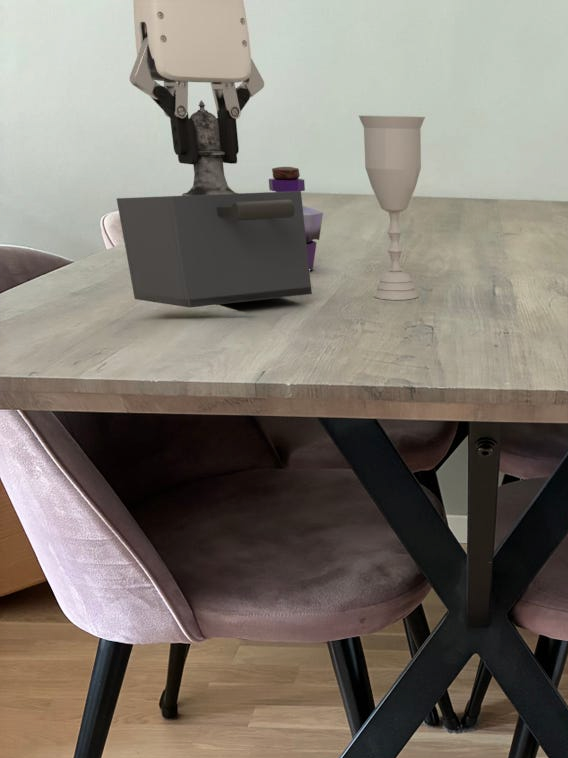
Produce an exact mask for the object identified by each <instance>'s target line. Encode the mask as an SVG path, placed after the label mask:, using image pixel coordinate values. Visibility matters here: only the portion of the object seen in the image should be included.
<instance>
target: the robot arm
mask: <svg viewBox="0 0 568 758" xmlns="http://www.w3.org/2000/svg"><path fill="white" fill-rule="evenodd" d="M247 20H248V19H247V14H246V9H245V3H244V0H133V21H134V23H133V24H134V37H135V49H136V59H135V61H134V64H133V66H132V69H131V72H130V75H129V82H130V84H131V85H132V86H134V87H136V89H138V90H139V91H141V92H143V93H144V94H145V95H148V96H149V97H150V98H151V99H152V100H153V101H154V102H155V103H156V104H157V106H159V108H161V110H162V111H163V113H164V115H165V116H166V117H167V118H169V121H170V128H171V137H172V145H173V151H174V153H175V155H176V156H177V159H178V162H179V163H180V164H185V165H193V164H197V163H198V153H197V144H196V135H195V126H194V121H193V120H192V119H190V117H189V110H188V109H189V108H188V107H189V106H188V105H189V102H188V101H189V100H188V99H189V83H210V86H211V91H212V96H213V100H214V104H215V109H216V114H217V117H216V118H217V120H218V127H219V136H220V146H221V151H223V152H224V153H225V155H223V157H222V158H223V164H230V165H231V164H233V165H235V164H237V163H238V154H239V150H240V148H239V137H238V127H237V119H240V117H241V112H242V111H243V109H244V108H245V106H246V105H247V103H248V102H249V100H250V99H251V98H252V97H254V96H256V94H257V93H259V92H260V91H262V89H263V88H264V87H265V81H264V79H263V77H262V75H261V73H260V71H259V70H258V67H257V66H256V64H255V62H254V60H253V59H252V53H251V51H252V50H251V42H250V34H249V27H248V21H247ZM159 81H160V82H163V85H161V84H160V83H158V82H159ZM235 83H240V84H239V86H237V87H236V84H235Z"/></svg>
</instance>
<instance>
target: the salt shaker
mask: <svg viewBox="0 0 568 758" xmlns="http://www.w3.org/2000/svg"><path fill="white" fill-rule="evenodd" d="M205 106H206V104H205V103H204V101H203V100H200V102H199V104H198V107H199V109H198V110H196V112H194V113H192V114H191V115H190V117H189V118H190V119H192V120H193V121H194V126H195V135H196V144H197V153H198V163H197V164H192V165H193V172H194V173H193V174H194V175H193V185H192V186H191V188H190V189H189V190H188V191H187V192H183V193H182V194H181V196H190V195H215V194H239V193H240V192H235V191H234V190H233V189H232V188H231V187H229V185H228V182H227V179H226V175H225V170H224V163H223V158H222V157H223V155H225V153H224V152H223V151H221V146H220V136H219V127H218V120H217V118H218V117H216V115H215V114H213V113H211V112H209V111H208V109H207V110H206V109H205Z"/></svg>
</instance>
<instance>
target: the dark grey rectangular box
mask: <svg viewBox="0 0 568 758" xmlns="http://www.w3.org/2000/svg"><path fill="white" fill-rule="evenodd" d="M238 193H239V194H215V195H190V196H182V195H167V196H165V195H164V196H144V197H143V196H141V197H139V196H138V197H118V198H116V203H117V204H116V205H117V207H118V208H117V209H118V214H119V221H120V226H121V231H122V238H123V242H124V243H123V244H124V247H125V253H126V258H127V264H128V269H129V275H130V281H131V287H132V292H133V297H134V300H138V301H145V302H152V303H157V304H163V305H169V306H170V305H171V306H178V307H182V308H191V309H192V308H199V307H208V306H216V305H217V306H218V305H227V304H233V303H235V304H236V303H245V302H253V301H262V300H270V299H279V298H287V297H288V298H289V297H290V298H291V297H298V296H306V295H312V294H313V292H312V283H311V274H310V272H311V271H310V272H309V263H308V253H307V244H306V235H305V225H304V216H303V206H304V205H303V197H302V191H290V192H276V191H270V192H268V191H267V192H245V193H244V192H243V193H240V192H238ZM302 205H303V206H302Z"/></svg>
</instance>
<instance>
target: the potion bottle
mask: <svg viewBox="0 0 568 758" xmlns="http://www.w3.org/2000/svg"><path fill="white" fill-rule="evenodd" d="M271 173H272V178H268V188H269V189H268V190H269V191H270V192H290V191H301V192H305V191H306V186H305V179H303V178H300V176H301V173H300V170H299V168H297V167H295V166H294V167H293V166H278V167H273V168H271ZM302 206H303V216H304V225H305V235H306V244H307V253H308V263H309V269H314V263H315V256H316V250H317V241H315V240H318V241H319V240H320V236H321V230H322V223H323V222H322V221H323V215H324V212H322V211H319V210H317V209H314V208H311V207H308V206H305V205H303V204H302Z"/></svg>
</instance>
